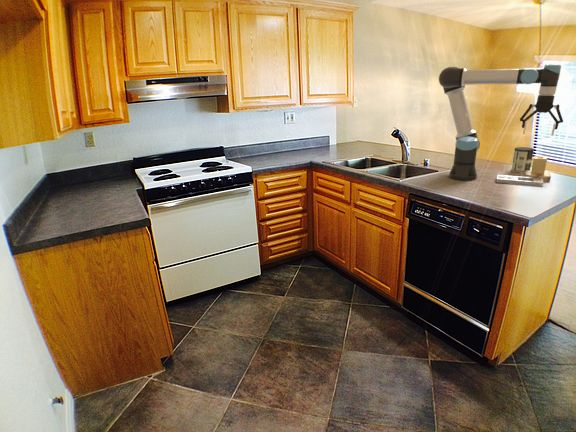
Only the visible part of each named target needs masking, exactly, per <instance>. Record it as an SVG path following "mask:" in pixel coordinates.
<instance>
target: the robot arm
mask: <svg viewBox="0 0 576 432" xmlns="http://www.w3.org/2000/svg"><path fill="white" fill-rule="evenodd" d="M561 69H562V65H561V64H558V63H556V64H555V63H554V64H551V63H549V64H545V65H544V67H543V68H533V67H530V68H502V69H501V68H499V69H497V68H496V69H466V67H463V68H459V67H457V66H448V67H445V68H444V69H443V70H441V72H440V73H439V76H438V83H439V85H440V86H441V87H442V89H443V93H444V95H446V96H447V97H448V100H449V105H450V109H451V114H452V117H453V121H454V122H453V123H454V125H455V130H456V133H457V134H456V136H455V146H454V147H455V149H454V157H453V164H452V167H451V169H450V171H449V173H448V178H449V179H452V180H457V181H473V180H474V181H475V180H476V179H478V178H477V177H478V174H477V169H476V161H477V153H478V151H479V150H480V146H481V143H480V139H479V137H478V135H477V131H476V130H475V129H473V126H472V121H471V117H470V113H469V108H468V105H467V100H466V97H465V96H466V95H465V92H464V90H465V88H466V85H531V84H540V86H539V91H538V95H537V100H536V102H535V104H534V103H533V104H532V103H529V105H528V107H527V109H526V110H525V112H523V114H522V115H521V117H520V118H519V121H520V122H522V124H521V125H522V126H521V128H522V129H523V131H522V135H525V133H526V129H527V125H528V123H527V121H528V120H529V119H531V118H532V117H533V116H534V115H535V114H537V113H542V114H543V113H544V114H546V113H548V114H549V115H550V116H551V118H552V119H553V120H554V122H553V126H552V130H551V135H550V136H552V137H554V134H555V130H557V129H558V127H559V124H560V123H561V124H562V123H564V119H563V116H562V114H561V110H560V104H559V103H558V104H554V101H555V97H556V96H555V95H556V93H557V92H556V91H557V87H558V82H559V79H560V76H561V75H560V74H561ZM533 108H535V110H534V111H532V112H531V113H530V114H529V115H527V114H528V113H529V112H530V111H531V110H532V109H533ZM552 109H555V111H556V113H557V115H558V118H559V119H558V118H557V117H556V116H555V115H554V113H553V112H552V111H551V110H552Z"/></svg>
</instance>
